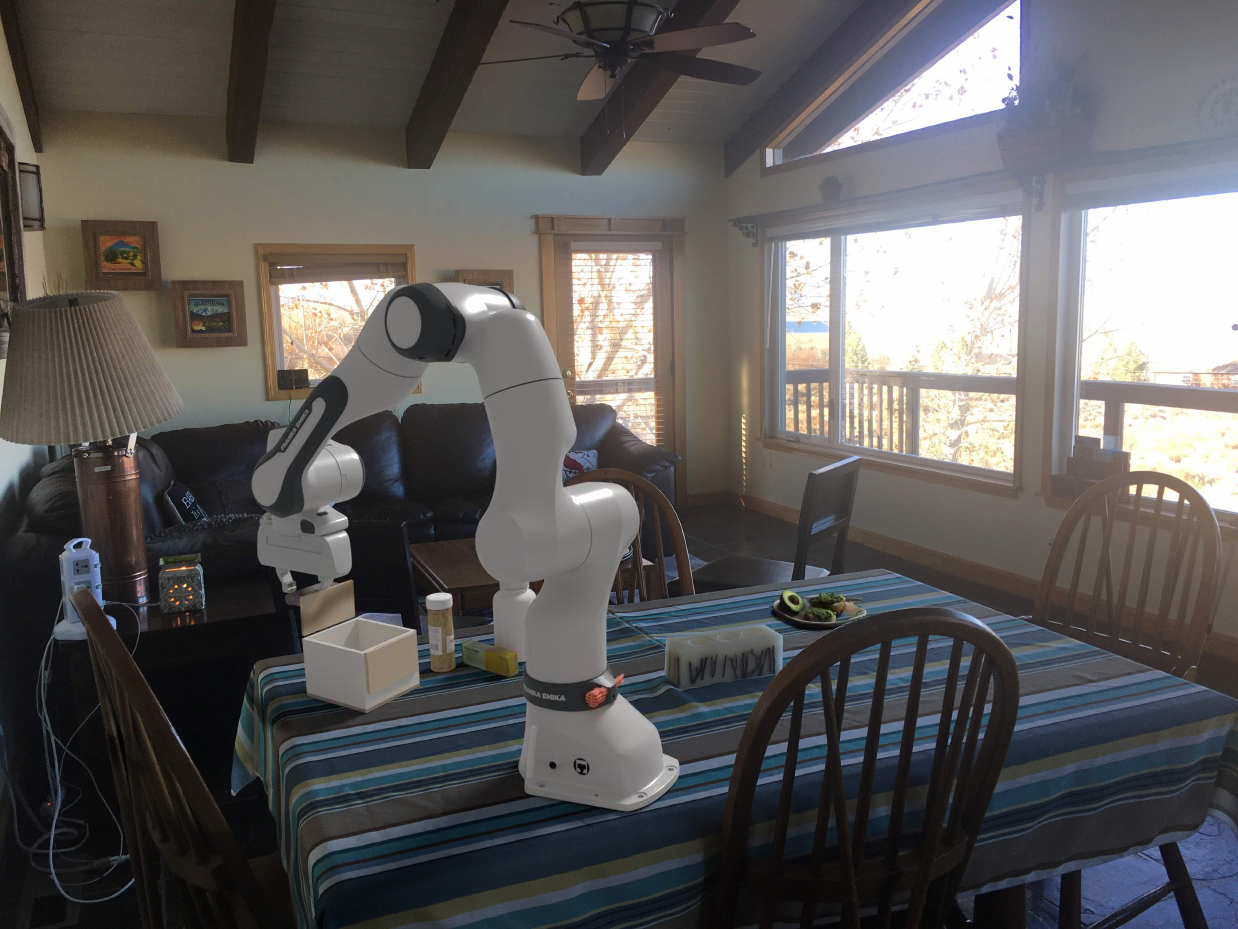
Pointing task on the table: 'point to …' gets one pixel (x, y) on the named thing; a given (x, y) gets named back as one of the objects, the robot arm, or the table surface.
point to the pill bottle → (511, 616)
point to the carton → (361, 664)
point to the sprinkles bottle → (441, 632)
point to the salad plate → (816, 609)
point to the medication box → (489, 658)
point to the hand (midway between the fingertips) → (306, 595)
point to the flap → (323, 605)
